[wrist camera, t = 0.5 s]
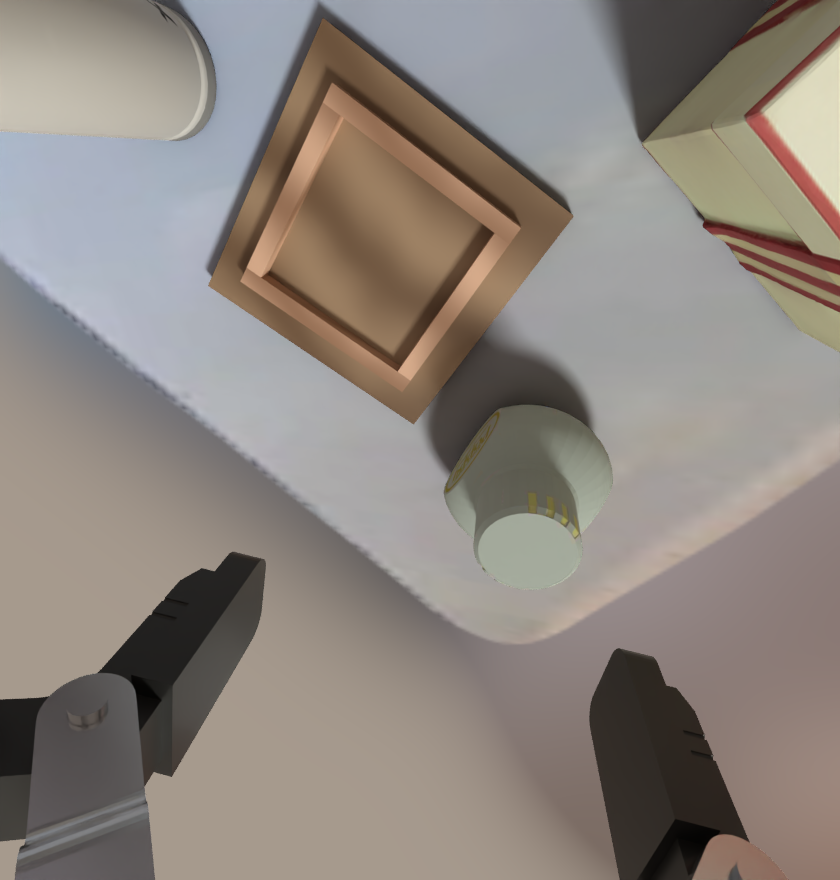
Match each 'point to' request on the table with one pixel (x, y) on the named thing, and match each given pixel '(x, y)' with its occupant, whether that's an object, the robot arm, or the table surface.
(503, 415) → the air freshener
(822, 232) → the gift box
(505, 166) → the tan square plate
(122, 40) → the travel mug
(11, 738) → the robot arm
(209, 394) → the table surface
